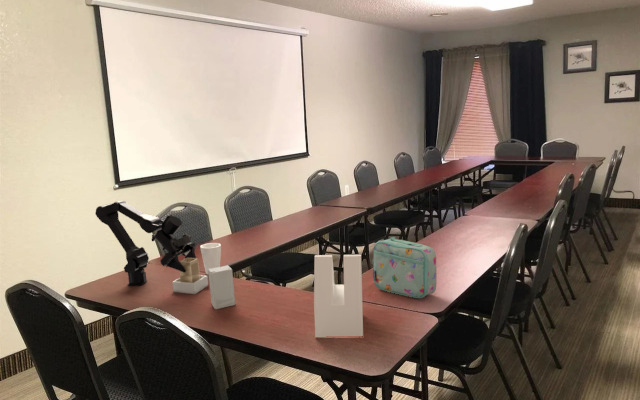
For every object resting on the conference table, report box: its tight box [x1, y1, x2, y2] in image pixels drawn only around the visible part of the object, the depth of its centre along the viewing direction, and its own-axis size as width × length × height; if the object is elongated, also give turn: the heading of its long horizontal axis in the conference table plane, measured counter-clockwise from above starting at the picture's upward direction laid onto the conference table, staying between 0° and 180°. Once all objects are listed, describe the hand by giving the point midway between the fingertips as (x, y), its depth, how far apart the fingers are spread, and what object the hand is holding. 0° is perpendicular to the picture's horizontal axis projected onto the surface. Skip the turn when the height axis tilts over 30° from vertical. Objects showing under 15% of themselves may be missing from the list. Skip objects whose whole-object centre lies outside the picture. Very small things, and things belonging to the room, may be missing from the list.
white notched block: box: [313, 254, 364, 337], centre depth 171 cm, size 19×15×25 cm
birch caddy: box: [179, 257, 201, 283], centre depth 214 cm, size 6×6×12 cm
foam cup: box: [200, 242, 222, 276], centre depth 235 cm, size 10×9×13 cm
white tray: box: [172, 274, 209, 295], centre depth 215 cm, size 10×10×4 cm
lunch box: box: [371, 236, 437, 299], centre depth 200 cm, size 27×10×21 cm, turn 47°
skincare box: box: [207, 264, 236, 310], centre depth 194 cm, size 8×6×15 cm
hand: (191, 268), depth 213 cm, fingers open, 9 cm apart
